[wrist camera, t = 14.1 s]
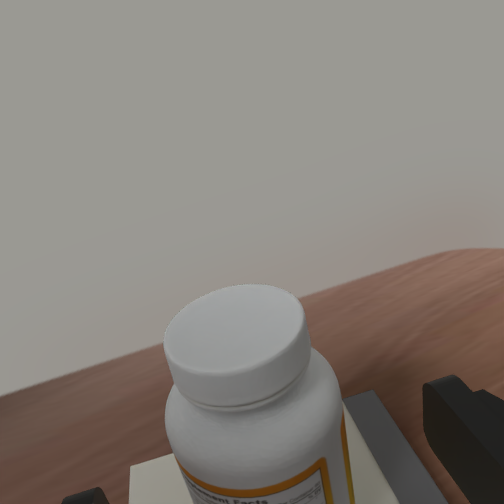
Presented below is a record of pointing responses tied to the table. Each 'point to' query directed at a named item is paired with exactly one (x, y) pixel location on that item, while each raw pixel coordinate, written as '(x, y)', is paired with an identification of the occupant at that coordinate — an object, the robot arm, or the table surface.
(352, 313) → the table surface
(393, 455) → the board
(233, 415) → the supplement bottle
